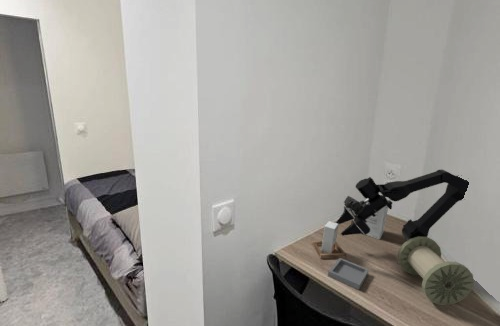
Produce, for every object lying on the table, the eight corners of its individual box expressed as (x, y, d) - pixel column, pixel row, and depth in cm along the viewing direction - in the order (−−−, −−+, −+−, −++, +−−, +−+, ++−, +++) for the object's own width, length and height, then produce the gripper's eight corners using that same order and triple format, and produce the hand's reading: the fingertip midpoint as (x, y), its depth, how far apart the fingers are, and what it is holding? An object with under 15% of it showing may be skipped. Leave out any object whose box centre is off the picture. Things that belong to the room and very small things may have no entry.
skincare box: (330, 255, 111) (334, 229, 108) (320, 252, 114) (324, 226, 110) (335, 249, 116) (338, 223, 113) (325, 245, 119) (328, 220, 115)
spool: (466, 306, 88) (479, 265, 84) (420, 304, 88) (430, 263, 84) (433, 272, 104) (442, 237, 100) (394, 271, 104) (401, 235, 100)
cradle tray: (368, 274, 101) (369, 269, 101) (358, 290, 93) (359, 285, 92) (339, 262, 108) (339, 257, 107) (327, 275, 99) (328, 271, 99)
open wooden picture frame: (334, 243, 121) (335, 240, 120) (345, 257, 111) (346, 254, 110) (311, 244, 119) (312, 241, 119) (320, 258, 109) (320, 255, 109)
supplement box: (364, 225, 138) (369, 194, 134) (383, 231, 133) (390, 199, 129) (358, 233, 131) (364, 200, 126) (379, 239, 126) (386, 205, 121)
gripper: (352, 183, 116) (323, 205, 120) (366, 200, 98) (331, 225, 102) (368, 202, 118) (338, 223, 121) (385, 222, 100) (349, 246, 103)
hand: (339, 228), depth 112 cm, fingers open, 9 cm apart
